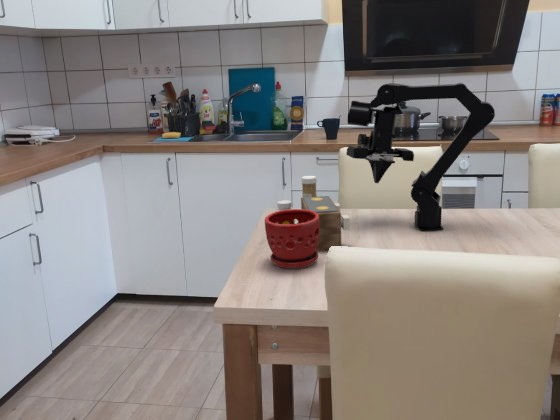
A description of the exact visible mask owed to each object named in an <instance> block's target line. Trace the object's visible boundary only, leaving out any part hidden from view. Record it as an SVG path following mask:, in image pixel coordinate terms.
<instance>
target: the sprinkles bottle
mask: <svg viewBox="0 0 560 420" xmlns="http://www.w3.org/2000/svg"><path fill="white" fill-rule="evenodd" d="M301 185H302V187H301V188H302V193H301V194H302V198H303V197H317V176H315V175H303V176H302V177H301Z"/></svg>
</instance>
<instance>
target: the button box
mask: <svg viewBox="0 0 560 420" xmlns="http://www.w3.org/2000/svg"><path fill="white" fill-rule="evenodd" d="M327 196H328V197H329V199H330V200H331V202H332V203H333V204H334V203H335V202H334V201H333V200H332V198H331V197H330V195H327ZM319 197H323V196H322V195H321V196H319ZM303 198H307V197H303V196H302V197H300V206H301V207H300V209H304V210H309V209H308V207H307V205H306V203H305V201H304V199H303ZM334 206H335V204H334ZM335 207H336V206H335ZM336 209H337V210H338V208H337V207H336ZM317 214H318V215H319V221H320V234H319V242H318V246H317V248H316V251H317V252H318V253H323V252H329V251H328V250H329V248H330V247H331V246H341V247H342V227H341V215H342V213H340V211H339V210H338V212H324V213H317ZM308 221H309V220H308ZM302 223H304V222H302Z"/></svg>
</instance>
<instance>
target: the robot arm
mask: <svg viewBox="0 0 560 420" xmlns="http://www.w3.org/2000/svg"><path fill="white" fill-rule="evenodd" d="M441 99H443V100H446V99H448V100H449V99H456V100H457V101H458V102H459V103H460V104H461V105H462V106H463V107H464V108H465V109H466V110H467V111H468V112H469V114H468V116H467V118H466V120H465V122H464V123H463V126H462V128H461V129H460V131H459V132H458V133H457V134H456V136H455V137H453V138H454V139H452V141H451V142H450V144H449V145H448V147H447V148H446V149H445V150H444V152H443V153H441V155H440V157H439V158H438V159H437V160H436V161H435V163H434V165H433V166H432V167H431V168H430V169H429V170H428V171H427V172H424V170H421V171H420V173H419V175H418V177H417V178H416V179H414V180H413V182H412V184H411V187H412V188H411V190H410V198H411V200H413V201H414V202H415V203H416V204H417V205H416V210H415V211H414V223H413V224H414V225H413V226H415V227H416V228H417V229H418V230H419V231H422V232H423V231H440V230H444V227H443V226H442V212H443V211H442V208H443V207H442V206H440V202H441V195H440V194H439V193H438V192H436V190H437V187H438V185H439V183H440V181H441V180H442V177H443V176H444V175H445V174H446V173H447V171H448V170H449V169H450V168H451V167H452V166H453V164H454V163H455V161H456V160H457V158H458V157H459V156H460V155H461V153H463V151H464V150H465V149H466V147H467V146H468V145H469V143H470V142H472V139H473V138H474V137H476V136H477V135H478V134H479V133H481V132H482V131H483V130H484V129H485V128H486V127H487V126H489V125H490V124H491V123H492V121H493V120H494V118H495V116H496V114H495V109H494V106H493V105H492V104H491V103H490V102H488V101H485V100H484V101H482V100H481V99H480V98H479V97H478V96H477V95H475V94H474V93H473V91H471V90H470V89H469V88H468V86H467V85H466V84H465V83H463V82H457V83H451V84H450V83H449V84H431V85H428V84H427V85H410V84H401V83H393V82H388V83H384V84H382V85H381V86H380V87H379V88H378V89H377V91H376V95H375V97H374V98H373V99H372V100H370V102H365V101H359V100H352V101H351V102H350V105H349V106H350V107H349V110H348V113H347V125H350V126H351V125H352V126H359V127H366V128H367V127H369V125H370V124H373V129H372V130H371V132H370V135H369V136H367V134H366V133H360V134H358V135H357V145H349V146H348V147H347V149H346V153H345V155H346V156H347V157H349V158H352V159H359V160H362V159H363V160H366V161H368V163H369V165H370V168H371V173H372V177H373V178H372V179H373V181H374V183H375V184H379V182H380V181H381V180H382V178H383V177H384V176H385V174H386V172H387V171H388V169H390V166H391V165H393V164H395V163H396V161H395V160H394V158H401V159H402V160H403V161H405V162H414V159H415V153H414V152H413V150H411V149H408V148H402V147H394V148H392V147H393V141H394V139H396V133H395V127H396V122H397V121H396V119H397V115H404V114H405V111H404V110H403V109H402V108H401V106H400V105H399V104H401V103H404V102H408V101H420V100H441ZM396 104H398V105H396ZM390 105H396V106H395V107H393V106H390ZM380 106H384V107H383V109H379V107H380ZM373 122H374V123H373Z"/></svg>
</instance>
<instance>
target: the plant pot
mask: <svg viewBox="0 0 560 420" xmlns="http://www.w3.org/2000/svg"><path fill="white" fill-rule="evenodd" d="M294 219H295V220H297V223H295V224H294V223H293V220H294ZM308 220H309V221H308ZM285 221H288V222H289V223H290V224H283V222H285ZM302 222H304V223H302ZM276 223H278V224H276ZM264 229H265V235H266V239H267V243H268V246H269V249H270V251H271V255H270V258H271V261H272V263H273V264H275V266H278V267H280V268H284V269H300V268H307V267H308V266H311V265H313V264H314V263H315V262H316V261H317V260H318V257H319V252H317V251H316V248H317V246H318V242H319V234H320V221H319V215H318V214H317V213H316V212H314V211H310V210H304V209H301V208H299V209H298V208H292V209H290V210H282V211H277V212H272V213H269V214H268V215H266V217H264Z"/></svg>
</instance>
